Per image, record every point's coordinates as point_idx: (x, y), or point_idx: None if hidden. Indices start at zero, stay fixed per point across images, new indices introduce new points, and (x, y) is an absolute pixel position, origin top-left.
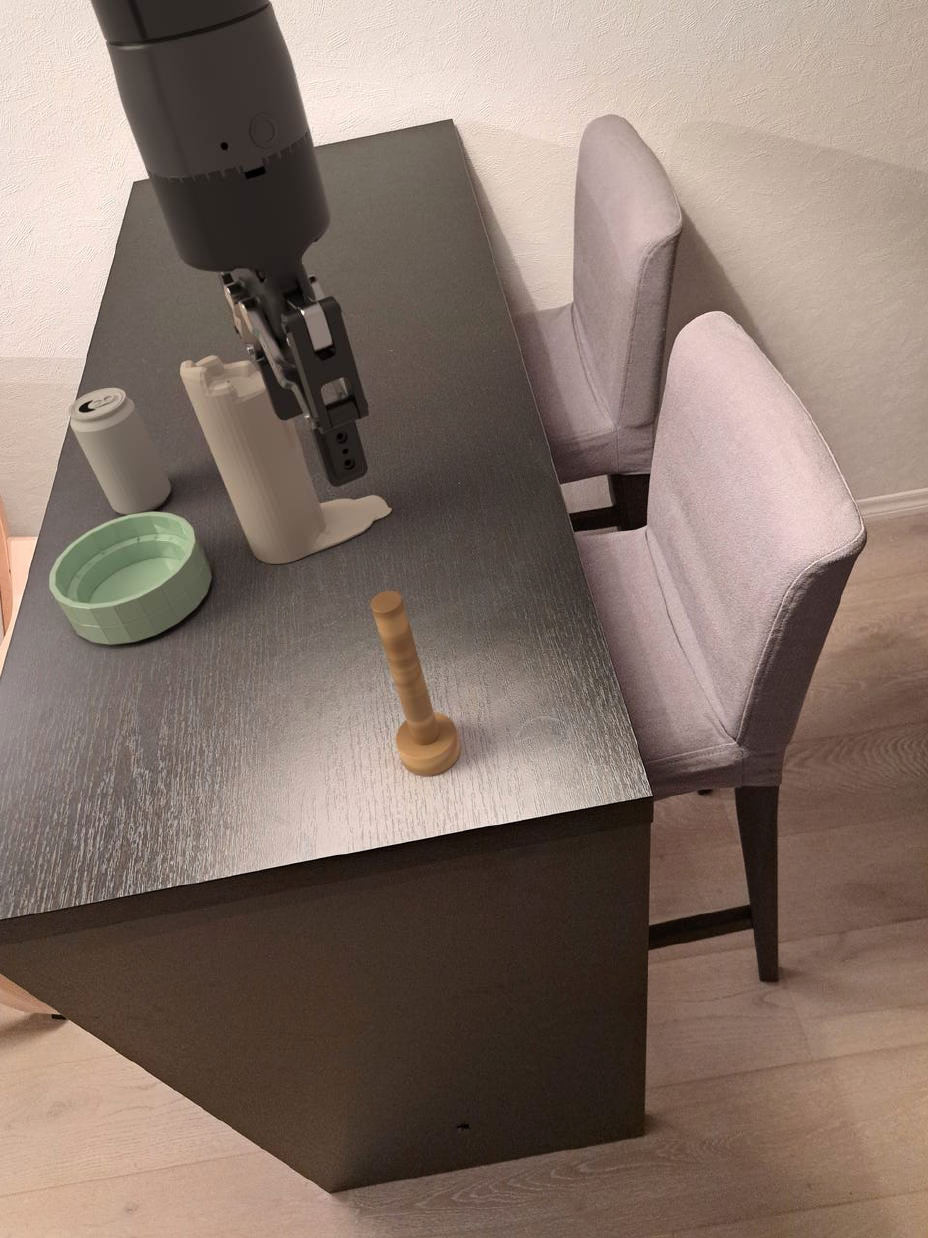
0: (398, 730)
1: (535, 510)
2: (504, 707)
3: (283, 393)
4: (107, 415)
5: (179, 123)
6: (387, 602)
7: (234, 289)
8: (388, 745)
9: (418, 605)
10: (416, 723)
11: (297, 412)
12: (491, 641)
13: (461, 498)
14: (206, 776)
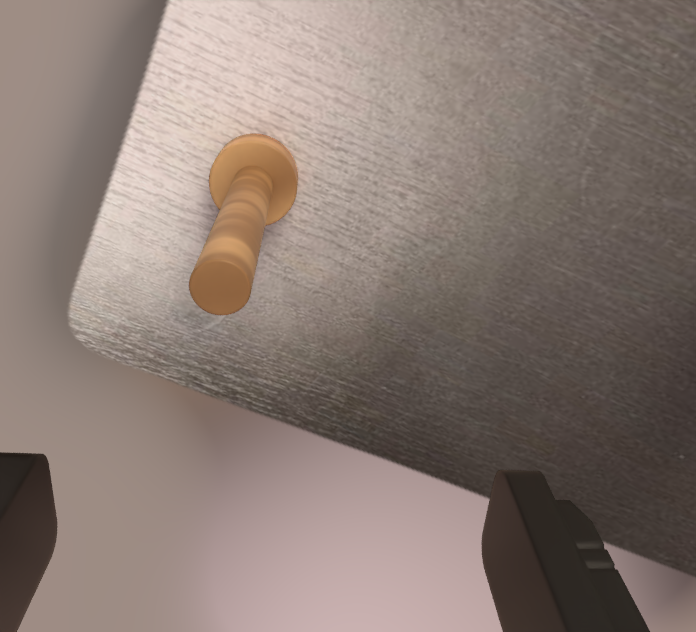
0: (283, 158)
1: None
2: (265, 289)
3: (517, 560)
4: None
5: None
6: (215, 288)
7: None
8: (304, 133)
9: (512, 296)
10: (231, 185)
11: (491, 517)
12: (378, 335)
13: (651, 443)
14: None
